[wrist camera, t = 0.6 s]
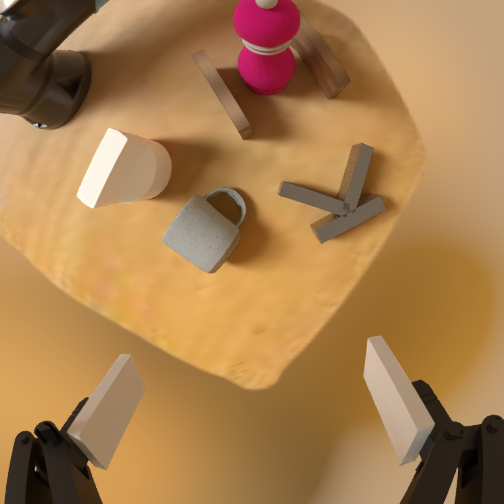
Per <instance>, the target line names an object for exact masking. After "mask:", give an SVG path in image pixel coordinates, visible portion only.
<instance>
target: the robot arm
mask: <svg viewBox="0 0 504 504" xmlns="http://www.w3.org/2000/svg"><path fill="white" fill-rule="evenodd" d="M108 1H109V0H0V14H1V15H3V16H2V18H1V19H0V113H5V114H13V115H20V116H21V117H22V118H24V119H25V120H26V121H28V122H29V123H31V124H32V125H33V126H35V127H37V128H40V129H47V130H52V129H56V128H58V127H60V126H62V125H64V124H65V123H66V122H67V121H69V120H70V119H71V118H72V116H73V115H74V114H75V113H76V112H77V110H78V109H79V107H80V106H81V104H82V102H83V101H84V99H85V96H86V94H87V91H88V89H89V85H90V80H91V66H90V63H89V61H88V59H87V58H86V57H85V56H83V55H82V54H80V53H78V52H76V51H72V50H67V51H66V50H55V49H56V48H57V47H58V46H59V45H60V44H61V43H62V42H63V41H64V40H65V39H66V38H67V37H68V36H69V35H70V34H71V33H72V32H73V31H75V30H76V29H77V28H78V27H79V26H80V25H81V24H82V23H83V22H84V21H86V20H87V19H88V18H89V17H90V16H91V15H92V14H96V13H97V12H98V11H99V9H100V8H101V7H102V6H103V5H104V4H106V3H107V2H108ZM364 379H365V381H366V383H367V385H368V388H369V390H370V392H371V395H372V397H373V399H374V402H375V404H376V407H377V409H378V412H379V414H380V416H381V419H382V421H383V424H384V426H385V429H386V431H387V434H388V436H389V439H390V441H391V444H392V446H393V449H394V452H395V454H396V457H397V460H398V462H399V465H403V464H406V463H409V462H412V461H415V460H416V458H417V457H418V455H419V454H420V456H421V459H422V461H421V462H420V464H419V465H418V467H417V468H416V473H415V475H414V477H413V479H412V481H411V483H410V485H409V487H408V489H407V491H406V493H405V495H404V497H403V499H402V500H401V502H400V504H443V503H444V501H445V499H446V496H447V494H448V491H449V488H450V486H451V483H452V481H453V478H454V475H455V472H456V469H457V468H458V478H457V488H456V497H455V504H504V420H503V419H502V418H501V417H500V416H498V415H490V416H487V417H486V418H485V419H484V420H483V422H482V424H479V425H473V426H463V425H462V424H461V423H458V422H453V421H452V420H451V419H450V417H449V415H448V414H447V412H446V411H445V409H444V408H443V406H442V405H441V403H440V401H439V400H438V399H437V397H436V395H435V394H434V392H433V390H432V389H431V387H430V386H429V385H428V384H427V383H425V382H424V381H422V380H418V381H415V382H410V380H409V379H408V377H407V376H406V374H405V372H404V371H403V369H402V367H401V366H400V365H399V363H398V361H397V359H396V358H395V356H394V355H393V353H392V352H391V350H390V348H389V347H388V345H387V344H386V343H385V341H384V339H383V338H382V336H376V337H371V338H368V343H367V352H366V361H365V368H364ZM145 390H146V389H145V386H144V384H143V382H142V379H141V377H140V375H139V372H138V370H137V368H136V365H135V363H134V360H133V358H132V355H131V354H130V355H129V354H120V356H119V357H118V358H117V360H116V361H115V362H114V364H113V365H112V367H111V368H110V369H109V371H108V372H107V374H106V375H105V376H104V378H103V379H102V381H101V382H100V383H99V385H98V386H97V388H96V389H95V391H94V392H93V394H92V395H91V396H90V398H88V397H86V398H85V399H84V400H82V401H81V402H79V404H78V406H77V407H76V408H75V410H74V411H73V412H72V415H71V416H70V417H69V418H68V420H67V422H66V423H65V424H64V426H63V427H62V429H61V430H60V431H59V430H58V429H57V427H56V426H55V424H54V423H52V422H51V421H43V422H41V423H39V424H38V425H37V426H36V428H35V430H34V433H35V435H36V436H37V437H38V438H35V437H34V436H33V434H32V433H31V432H29V431H22V432H21V433H19V434H18V435H17V436H16V438H15V442H14V447H13V451H12V456H11V461H10V466H9V472H8V478H7V485H6V493H5V504H103V503H102V501H101V498H100V496H99V493H98V491H97V488H96V485H95V483H94V480H93V477H92V474H91V471H90V469H89V466H88V465H87V462H88V460H89V461H90V462H91V463H92V464H93V465H94V466H95V467H99V468H102V469H105V470H107V468H108V466H109V464H110V462H111V459H112V457H113V455H114V453H115V451H116V449H117V447H118V445H119V443H120V440H121V438H122V436H123V434H124V432H125V430H126V428H127V426H128V424H129V422H130V420H131V418H132V416H133V414H134V412H135V410H136V408H137V406H138V404H139V402H140V400H141V398H142V396H143V394H144V392H145ZM35 466H36V467H37V470H36V471H35Z"/></svg>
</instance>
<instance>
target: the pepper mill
mask: <svg viewBox="0 0 504 504" xmlns="http://www.w3.org/2000/svg"><path fill="white" fill-rule="evenodd" d="M233 25H234V28H235V30H236V32H237V34H238V35H239V36H240V37H241V38H242V41H243V44H244V45H245V46H244V48H243V49H242V51H241V53H240V55H239V58H238V70H239V73H240V75H241V77H242V78H243V80H244V81H245V82H246V84H247V86H248V87H249V88H250V89H251V90H252V91H254V92H256V93H259V94H263V95H271V94H275V93H278V92H280V91H281V90H282V89H284V88H285V86H286V85H287V83H288V82H289V80H290V79H291V78H292V76H293V74H294V71H295V59H294V56H293V54H292V52H291V50H290V49H289V47H288V46H289V45H290V43H291V40H292V38H293V37H294V36H295V35H296V34H297V32H298V30H299V27H300V14H299V11H298V9H297V7H296V5H295V4H294V3H293V2H292V1H291V0H241V1H240V2H239V3H238V5H237V6H236V8H235V10H234V13H233Z"/></svg>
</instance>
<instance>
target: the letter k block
mask: <svg viewBox="0 0 504 504" xmlns="http://www.w3.org/2000/svg"><path fill="white" fill-rule="evenodd" d="M373 149H374V148H373V147H370V146H368V145H366V144H363V143H360V144H357V145H354V146H352V149H351V153H350V156H349V160H348V163H347V166H346V170H345V173H344V177H343V180H342V183H341V186H340V190H339V193H338V196H337V199H335V198H332V197H329V196H326V195H323V194H320V193H317V192H315V191H312V190H309V189H306V188H303V187H299V186H296V185H293V184H290V183H287V182H284V181H281V184H280V187H279V190H278V195H280V196H283V197H286V198H289V199H292V200H296V201H299V202H302V203H305V204H308V205H311V206H314V207H317V208H320V209H323V210H326V211H329V212H332V214H330V215H328V216H326V217H324V218H322V219H320V220H318V221H317V222H315V223H313V224H311V225H310V226H311V228H312V230H313V232H314V234H315V236H316V238H317V239H318V240H319V241H320V243H321V244H322V243H324V242H326V241H328V240H330V239H332V238H334V237H336V236H337V235H339V234H341V233H343V232H345V231H347V230H349V229H351V228H353V227H354V226H356V225H358V224H360V223H362V222H364V221H366V220H368V219H369V218H371V217H373V216H375V215H377V214H379V213H381V212H382V211H384V210H386V207H385V205H384V202H383V200H382V198H381V196H380V195H374V194H369V195H367V196H365V197H363V198H361V199H359V198H360V194H361V191H362V188H363V185H364V181H365V178H366V174H367V171H368V168H369V164H370V160H371V157H372V153H373Z"/></svg>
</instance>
